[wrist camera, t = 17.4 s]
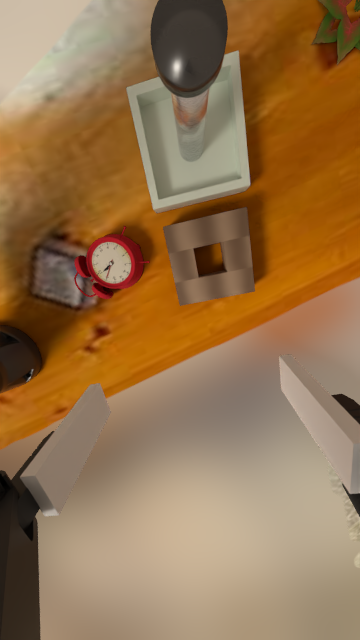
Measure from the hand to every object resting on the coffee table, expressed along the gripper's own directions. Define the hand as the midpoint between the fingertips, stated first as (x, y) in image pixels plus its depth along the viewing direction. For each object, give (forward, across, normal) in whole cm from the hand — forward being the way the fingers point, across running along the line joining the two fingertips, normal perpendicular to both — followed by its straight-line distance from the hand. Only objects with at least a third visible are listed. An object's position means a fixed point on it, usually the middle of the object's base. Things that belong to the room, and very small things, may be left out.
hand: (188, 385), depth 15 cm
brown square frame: (+29, +5, +7) cm, 30 cm away
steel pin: (+28, +5, +25) cm, 38 cm away
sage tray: (+29, +5, +25) cm, 38 cm away
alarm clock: (+29, -14, +10) cm, 34 cm away
